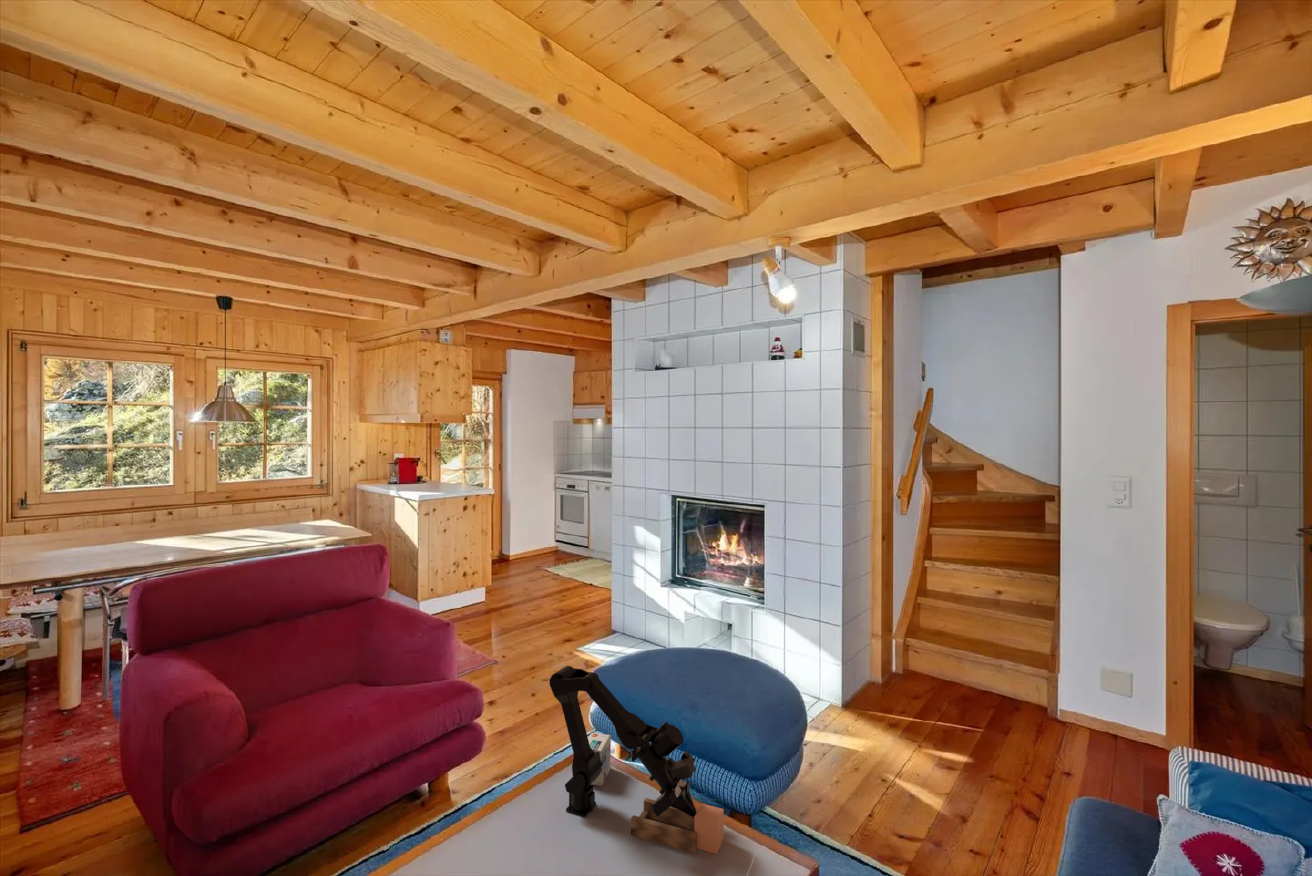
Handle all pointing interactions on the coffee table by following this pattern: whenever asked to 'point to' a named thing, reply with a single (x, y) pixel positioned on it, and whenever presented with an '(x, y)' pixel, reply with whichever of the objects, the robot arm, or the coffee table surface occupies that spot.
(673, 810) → the walnut chute
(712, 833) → the terracotta block
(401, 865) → the coffee table surface
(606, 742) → the light bulb box
